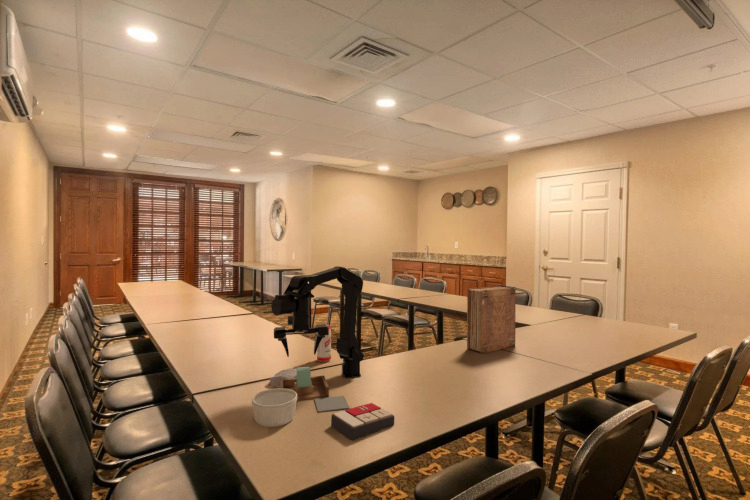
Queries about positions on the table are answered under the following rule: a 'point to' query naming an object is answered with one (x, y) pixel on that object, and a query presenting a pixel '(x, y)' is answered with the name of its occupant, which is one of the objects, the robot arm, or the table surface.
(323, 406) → the pad
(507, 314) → the book
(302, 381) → the teal block
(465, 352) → the table surface
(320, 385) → the caddy
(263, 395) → the ramekin
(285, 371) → the stone block
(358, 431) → the calculator
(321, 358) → the beer can
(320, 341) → the robot arm
